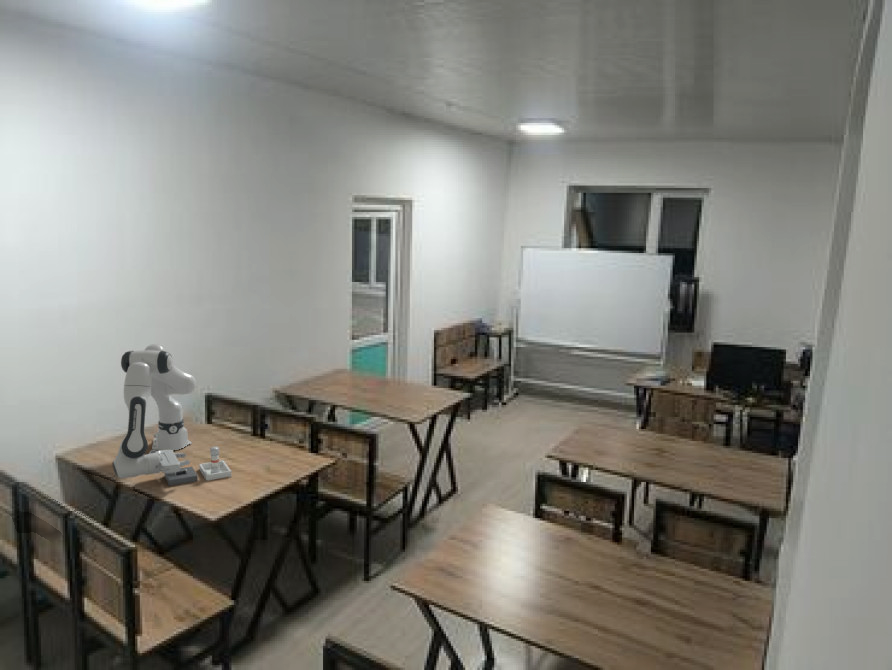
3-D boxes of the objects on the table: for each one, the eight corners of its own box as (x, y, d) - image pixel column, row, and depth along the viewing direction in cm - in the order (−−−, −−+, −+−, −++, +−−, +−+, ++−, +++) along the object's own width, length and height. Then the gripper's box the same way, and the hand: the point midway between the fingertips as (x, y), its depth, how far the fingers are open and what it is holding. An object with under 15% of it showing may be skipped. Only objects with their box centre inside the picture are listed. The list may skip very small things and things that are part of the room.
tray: (199, 471, 307) (199, 464, 306) (223, 467, 312) (223, 460, 312) (206, 482, 294) (206, 475, 294) (231, 478, 300) (231, 471, 299)
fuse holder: (164, 478, 297) (164, 468, 296) (192, 473, 304) (191, 463, 303) (169, 487, 287) (168, 477, 286) (197, 482, 294) (197, 473, 293)
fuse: (210, 471, 304) (209, 447, 302) (218, 470, 306) (217, 446, 304) (211, 474, 301) (211, 449, 298) (220, 473, 303) (219, 448, 300)
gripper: (157, 464, 279) (191, 459, 286) (150, 449, 296) (182, 444, 303) (158, 478, 280) (192, 473, 287) (151, 462, 297) (183, 457, 304)
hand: (187, 458), depth 295 cm, fingers open, 8 cm apart
